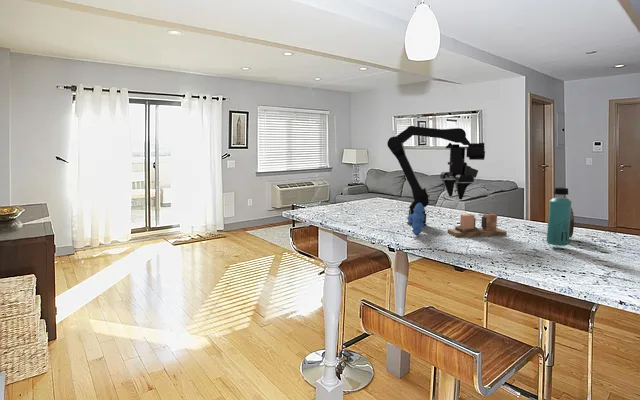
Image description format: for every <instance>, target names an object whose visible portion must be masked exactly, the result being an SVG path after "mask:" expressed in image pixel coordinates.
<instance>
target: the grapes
mask: <svg viewBox="0 0 640 400" xmlns="http://www.w3.org/2000/svg"><path fill="white" fill-rule="evenodd" d="M424 210H425V211H426V209H425V207H423V205H422V204H421V203H418V204H416V206H415V208H414V209H413V211H414V213H413V214H411V215H409V214H408V216H407V217H406V219H407V222H408V221H409V222H410V223H413V224H412V225H410V227H411V228H412V230H411V231H412V233H413V235H415V236H418V235H420V234H422V233H423V227H424V223H423V221H424V220H425V219H424V217H425V215H424V214H423V213H422V212H423V211H424Z"/></svg>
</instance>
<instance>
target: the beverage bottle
mask: <svg viewBox="0 0 640 400" xmlns="http://www.w3.org/2000/svg"><path fill="white" fill-rule="evenodd" d="M553 195H559V196H564V195H566V196H568V195H569V188H568V187H554V189H553ZM548 207H549V208H548V219H547V228H546V230H547V233H546V242H547V244H548V245H552V246H559V247H566V246H568V245H569V242H570V238H571V237H570V231H569V229H570V217H571V208H572V201H571V200H570V199H569V198H568V197H567V198H566V197H565V198H564V197H558V196H557V197H552V198H551V199H550V200H549V206H548Z"/></svg>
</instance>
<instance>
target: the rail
mask: <svg viewBox="0 0 640 400" xmlns="http://www.w3.org/2000/svg"><path fill="white" fill-rule="evenodd" d="M497 223H498V215H497V214H494V213H482V216H481V225H480V226H481V227H479V228H478V227H476V226H475V229H462V228H460V225H455V226H454V228H447V234H448V233H449V235H450V234H451V236H452V235H453V237H454V236H455V238H464V237H465V238H467V237H469V238H471V237H472V238H473V236H474V237H500V236H502V237H505V236H507V233H508V232H507V230H503V229H500V228H497Z"/></svg>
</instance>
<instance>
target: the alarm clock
mask: <svg viewBox="0 0 640 400" xmlns="http://www.w3.org/2000/svg"><path fill="white" fill-rule="evenodd" d="M563 198H568V195H563ZM574 225H575V217H574V210H573V207H571V217H570V229H569V231H570V237H569V238H572V237H573V236H574V230H575V229H574V228H575V226H574Z"/></svg>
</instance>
